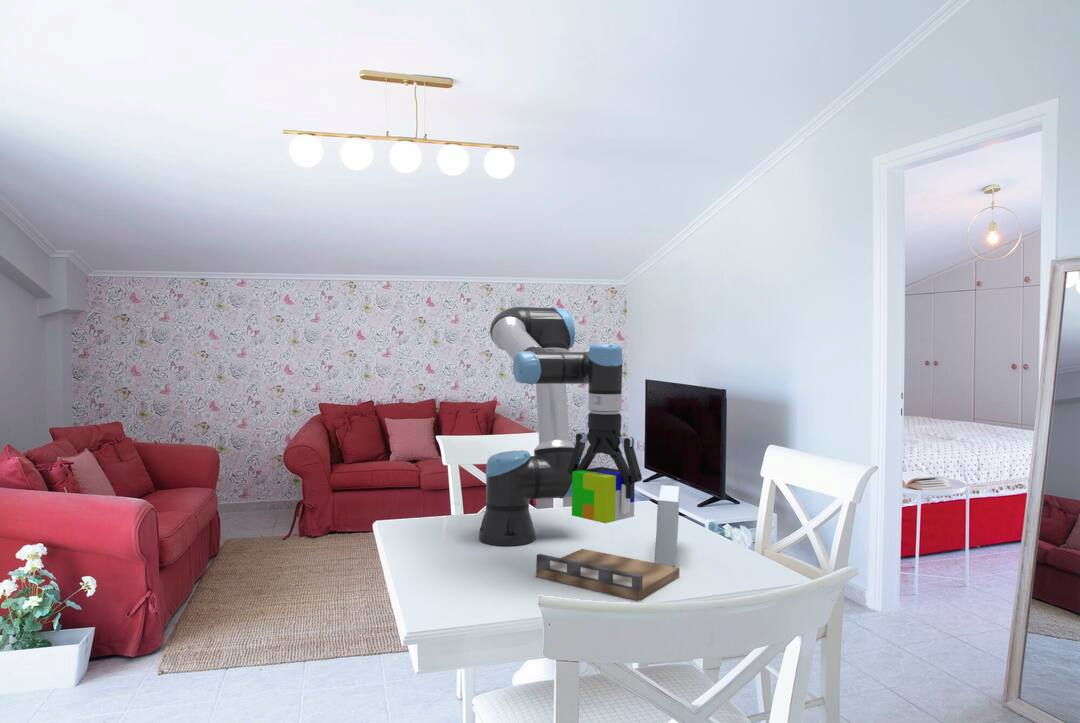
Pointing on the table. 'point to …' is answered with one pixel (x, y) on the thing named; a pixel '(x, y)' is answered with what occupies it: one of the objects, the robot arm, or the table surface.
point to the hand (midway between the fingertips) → (603, 509)
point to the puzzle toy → (599, 495)
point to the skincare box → (667, 525)
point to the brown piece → (606, 573)
